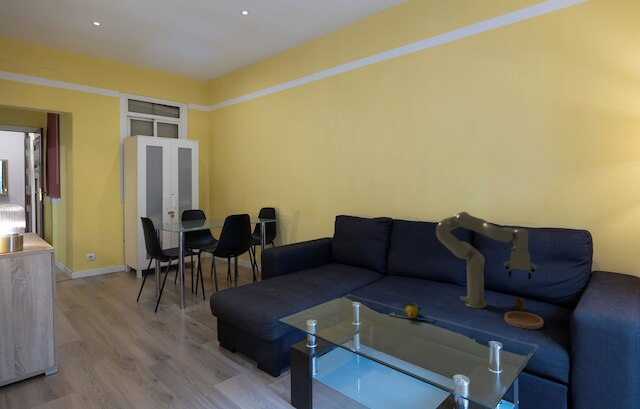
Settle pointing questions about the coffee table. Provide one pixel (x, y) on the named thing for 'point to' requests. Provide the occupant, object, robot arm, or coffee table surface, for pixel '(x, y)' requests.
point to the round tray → (523, 319)
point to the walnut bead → (519, 304)
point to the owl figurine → (410, 311)
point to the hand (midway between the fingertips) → (519, 278)
